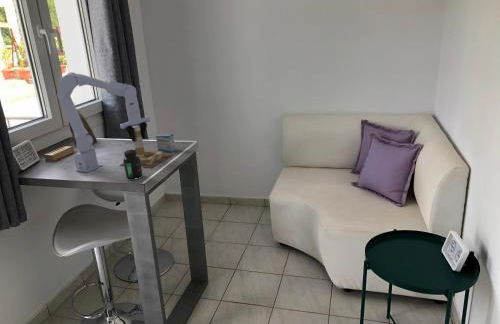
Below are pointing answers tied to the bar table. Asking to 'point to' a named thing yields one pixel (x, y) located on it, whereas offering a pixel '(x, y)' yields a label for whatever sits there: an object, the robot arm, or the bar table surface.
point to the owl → (84, 127)
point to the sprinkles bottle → (138, 141)
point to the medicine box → (165, 142)
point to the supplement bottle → (132, 165)
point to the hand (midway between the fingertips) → (138, 139)
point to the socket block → (151, 158)
